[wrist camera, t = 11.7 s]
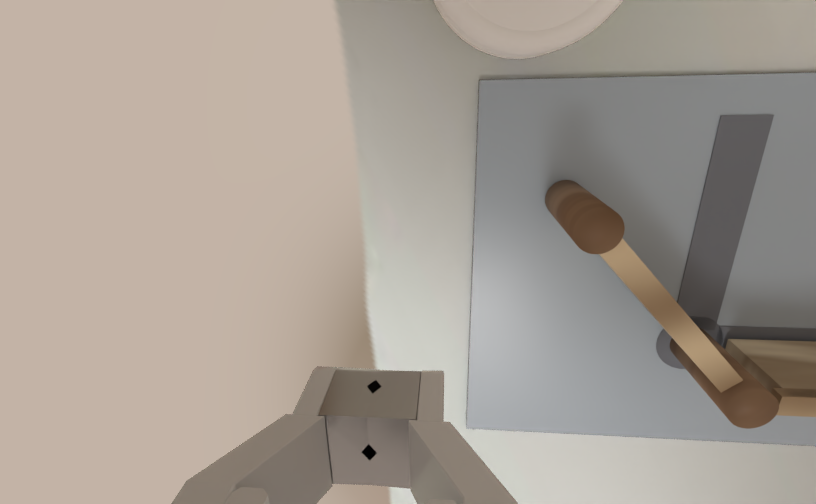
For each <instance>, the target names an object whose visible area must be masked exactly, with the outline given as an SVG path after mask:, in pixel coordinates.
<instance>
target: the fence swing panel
mask: <svg viewBox="0 0 816 504" xmlns="http://www.w3.org/2000/svg"><path fill="white" fill-rule="evenodd" d="M545 204H546V207H547V209H548V210H549V212H550V213H551V214H552V215H553V217H554V218H555V219H556V220H557V222H558V223H559V224H560V225H561V226H562V228H563V229H564V230H565V231H566V233H567V234H568V235H569V236H570V237H571V239H572V240H573V241H574V242H575V244H576V245H577V246H578V247H579V248H580V249H581V250H582V251H584V252H586V253H589V254H599V255H600V256H601V257H602V259H603V260H604V261H605V262H606V263H607V264H608V265H609V267H610V268H611V269H612V270H613V271H614V272H615V273H616V275H617V276H618V277H619V278H620V279H621V280H622V281H623V283H624V284H625V285H626V286H627V287H628V288H629V289H630V291H631V292H632V293H633V294H634V295H635V296H636V297H637V299H638V300H639V301H640V302H641V303H642V304H643V305H644V307H645V308H646V309H647V310H648V311H649V312H650V313H651V315H652V316H653V317H654V318H655V319H656V320H657V321H658V323H659V324H660V325H661V326H662V327H663V328H664V329H665V330H666V332H667V333H668V334H669V335H670V336H671V337H672V338H673V339H674V341H675V342H676V343H677V344H678V345H679V346H680V347H681V348H682V350H683V351H684V352H685V353H686V354H687V355H688V356H689V357H690V358H691V360H692V361H693V362H694V363H695V364H696V365H697V366H698V367H699V369H700V370H701V371H702V372H703V373H704V374H705V375H706V376H707V378H708V379H709V380H710V381H711V382H712V383H713V384H714V385H715V387H716V388H717V389H718V390H719V391H720V392H723V391H725V390H727V389H729V388H730V387H732V386H734V385H736V384H738V383H739V382H741V381H743V379H742V378H741V377H740V376H739V375H738V374H737V372H736V371H735V370H734V369H733V368H732V366H731V365H730V364H729V363H728V362H727V361H726V359H725V358H724V357H723V356H722V355H721V354H720V352H719V351H718V350H717V349H716V348H715V346H714V345H713V344H712V343H711V342H710V341H709V339H708V338H707V337H706V336H705V335H704V334H703V332H702V331H701V330H700V329H699V328H698V326H697V325H696V324H695V323H694V322H693V321H692V319H691V318H690V317H689V316H688V315H687V314H686V312H685V311H684V310H683V309H682V308H681V306H680V305H679V304H678V303H677V302H676V301H675V299H674V298H673V297H672V296H671V295H670V294H669V292H668V291H667V290H666V289H665V288H664V286H663V285H662V284H661V283H660V282H659V281H658V279H657V278H656V277H655V276H654V275H653V274H652V272H651V271H650V270H649V269H648V268H647V266H646V265H645V264H644V263H643V262H642V261H641V259H640V258H639V257H638V256H637V255H636V254H635V252H634V251H633V250H632V249H631V248H630V246H629V245H628V244H627V243H626V242H625V241H624V239H623V235H624V231H625V226H624V221H623V219H622V217H621V216H620V215H619V214H618V213H617V212H616V211H614V210H613V209H612V208H610V207H609V206H607V205H606V204H605V203H603V202H602V201H601V200H599V199H598V198H597V197H595V196H594V195H593V194H591V193H590V192H589V191H587V190H586V189H585V188H583V187H582V186H581V185H579V184H578V183H576V182H575V181H572V180H561V181H558V182H556V183H555V184H553V185H552V186H551V187H550V188H549V189H548V191H547V193H546V196H545Z"/></svg>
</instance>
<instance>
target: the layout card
mask: <svg viewBox="0 0 816 504" xmlns="http://www.w3.org/2000/svg"><path fill="white" fill-rule="evenodd" d="M561 180H572V181H575V182H576V183H578V184H579V185H581V186H582V187H583V188H585V189H586V190H587V191H589V192H590V193H591V194H593V195H594V196H595V197H597V198H598V199H599V200H601V201H602V202H603V203H605V204H606V205H607V206H609V207H610V208H612V209H613V210H614V211H616V212H617V213H618V214H619V215H620V216H621V217H622V219H623V221H624V226H625V231H624V235H623V239H624V241H625V242H626V243H627V244H628V245H629V246H630V248H631V249H632V250H633V251H634V252H635V254H636V255H637V256H638V257H639V258H640V259H641V261H642V262H643V263H644V264H645V265H646V266H647V268H648V269H649V270H650V271H651V272H652V274H653V275H654V276H655V277H656V278H657V279H658V281H659V282H660V283H661V284H662V285H663V286H664V288H665V289H666V290H667V291H668V292H669V294H670V295H671V296H672V297H673V298H674V299H675V301H676V302H677V303H678V304H679V305H680V306H681V308H682V309H683V310H684V311H685V312H686V314H687V315H688V316H689V317H690V318H691V319H692V321H693V322H694V323H695V324H696V325H697V326H698V328H701V329H703V330H705V331H706V332H707V333H708V334H709V335H710V336H711V337H712V338H713V339H714V340H715V341H716V342H718V343H719V344H720V345H721V346H722V347H723V348H724V349H725V348H726V344H727V341H728V339H749V340H782V341H815V342H816V73H775V74H731V75H687V76H643V77H598V78H554V79H510V80H479V106H478V132H477V159H476V185H475V212H474V239H473V265H472V292H471V318H470V345H469V371H468V398H467V424H466V427H467V429H485V430H505V431H524V432H544V433H564V434H584V435H603V436H623V437H643V438H663V439H683V440H702V441H722V442H742V443H762V444H782V445H801V446H816V417H801V416H779V415H776V416H775V417H774V418H773V419H772V420H771V421H770V422H769V423H767V424H765V425H763V426H761V427H757V428H751V429H745V428H740V427H737V426H735V425H733V424H732V423H731V422H730V421H729V420H728V418H727V417H726V416H725V415H724V414H723V413H722V411H721V410H720V409H719V408H718V407H717V405H716V404H715V403H714V402H713V401H712V399H711V398H710V397H709V396H708V395H707V394H706V392H705V391H704V390H703V389H702V388H701V386H700V385H699V384H698V383H697V382H696V380H695V379H694V378H693V377H692V376H691V375H690V373H689V372H688V371H687V370H686V369H685V367H684V366H683V365H682V364H681V363H680V362H679V360H678V359H677V358H676V357H675V356H674V354H673V353H672V352H671V350H670V341H671V339H672V337H671V336H670V335H669V334H668V333H667V332H666V330H665V329H664V328H663V327H662V326H661V325H660V324H659V323H658V321H657V320H656V319H655V318H654V317H653V316H652V315H651V313H650V312H649V311H648V310H647V309H646V308H645V307H644V305H643V304H642V303H641V302H640V301H639V300H638V299H637V297H636V296H635V295H634V294H633V293H632V292H631V291H630V289H629V288H628V287H627V286H626V285H625V284H624V283H623V281H622V280H621V279H620V278H619V277H618V276H617V275H616V273H615V272H614V271H613V270H612V269H611V268H610V267H609V265H608V264H607V263H606V262H605V261H604V260H603V259H602V257H601V256H600V255H599V254H589V253H586V252H584V251H582V250H581V249H580V248H579V247H578V246H577V245H576V244H575V242H574V241H573V240H572V239H571V237H570V236H569V235H568V234H567V233H566V231H565V230H564V229H563V228H562V226H561V225H560V224H559V223H558V222H557V220H556V219H555V218H554V217H553V215H552V214H551V213H550V212H549V210H548V209H547V207H546V204H545V196H546V193H547V191H548V189H549V188H550V187H551V186H552V185H553V184H555V183H556V182H558V181H561Z"/></svg>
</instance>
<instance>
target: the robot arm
mask: <svg viewBox="0 0 816 504" xmlns="http://www.w3.org/2000/svg"><path fill="white" fill-rule="evenodd" d="M443 412H444V372H443V371H422V372H421V371H393V370H376V369H360V368H343V367H339V368H337V367H319V366H317V367H316V368H315V369H314V370H313V372H312V374H311V376H310V378H309V380H308V382H307V384H306V386H305V389H304V391H303V393H302V395H301V397H300V399H299V401H298V403H297V405H296V407H295V410H294V412H293V414H285V415H284V416H283V417H281V418H280V419H278V420H277V421H275V422H274V423H272V424H271V425H269V426H268V427H266V428H265V429H263V430H262V431H260V432H259V433H257V434H256V435H254V436H253V437H251V438H250V439H248V440H247V441H245V442H244V443H242V444H241V445H239V446H238V447H236V448H235V449H233V450H232V451H230V452H229V453H227V454H226V455H225V456H223V457H221V458H220V459H219V460H217V461H216V462H214V463H213V464H211V465H210V466H208V467H207V468H205V469H204V470H202V471H201V472H199V473H198V474H196V475H195V476H193V477H192V478H190V479H189V480H187V481H186V482H185V484H184V486H183V487H182V489H181V490H180V492H179V493H178V495H177V496H176V498H175V499H174V501H173V502H172V504H317V502H318V501H319V500H320V499H321V498H322V497H323V496H324V495H325V494H326V493H327V491H328V490H329V489H330V488H331V487H332V484H359V485H377V486H388V487H399V488H410V489H411V492H412V494H413V496H414V498H415V500H416V502H417V504H518V503H517V501H516V500H515V499H514V498H513V497H512V496H511V494H510V493H509V492H508V491H507V490H506V488H505V487H504V486H503V485H502V484H501V482H500V481H499V480H498V479H497V478H496V476H495V475H494V474H493V473H492V472H491V470H490V469H489V468H488V467H487V466H486V464H485V463H484V462H483V461H482V460H481V458H480V457H479V456H478V455H477V454H476V453H475V451H474V450H473V449H472V448H471V447H470V445H469V444H468V443H467V442H466V441H465V439H464V438H463V437H462V436H461V435H460V433H459V432H458V431H457V430H456V429H455V427H454V426H453V425H452V424H451V423H450V422H443Z"/></svg>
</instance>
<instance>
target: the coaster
mask: <svg viewBox="0 0 816 504" xmlns="http://www.w3.org/2000/svg"><path fill="white" fill-rule="evenodd" d="M433 1H434V3H435V5H436V7H437V9H438V11H439V12H440V14H441V16H442V18H443V19H444V20H445V22H446V23H447V24H448V26H449V27H450V28H451V29H452V30H453V31H454V32H455V33H456V34H457V35H458V36H459V37H460V38H461V39H463V40H464V41H465V42H466V43H468V44H469V45H471V46H473V47H474V48H476V49H477V50H480V51H482V52H484V53H487V54H489V55H493V56H496V57H500V58H508V59H527V58H532V57H538V56H541V55H544V54H548V53H551V52H553V51H556V50H559V49H562V48H564V47H567V46H569V45H571V44H573V43H575V42H577V41H579V40H580V39H582V38H583V37H585V36H587V35H588V34H590V33H591V32H592V31H594V30H595V29H596V28H597V27H599V26H600V25H601V24H602V23H603V22H604V21H605V20H606V19H607V18H608V17H609V16H610V15H611V14H612V13H613V12H614V11H615V10H616V9H617V8H618V6H619V5H620V4H621V3H622V1H623V0H433Z"/></svg>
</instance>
